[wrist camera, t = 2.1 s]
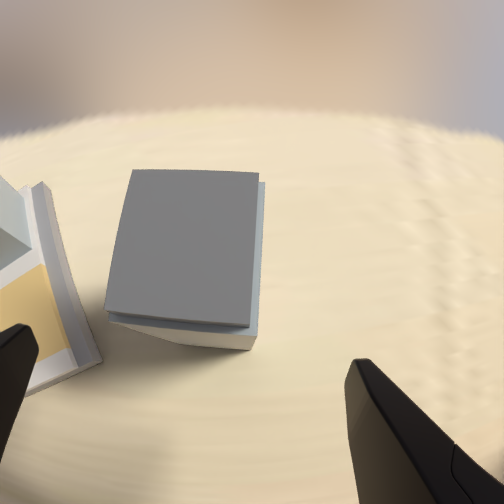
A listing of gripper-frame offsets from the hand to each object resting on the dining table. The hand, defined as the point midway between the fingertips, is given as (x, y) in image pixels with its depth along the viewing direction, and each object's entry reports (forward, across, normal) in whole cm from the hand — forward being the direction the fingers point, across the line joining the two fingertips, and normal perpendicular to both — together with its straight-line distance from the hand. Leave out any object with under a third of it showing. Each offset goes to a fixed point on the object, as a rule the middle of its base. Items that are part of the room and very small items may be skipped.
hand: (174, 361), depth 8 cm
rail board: (+9, +13, +5) cm, 17 cm away
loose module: (+9, 0, +5) cm, 11 cm away
